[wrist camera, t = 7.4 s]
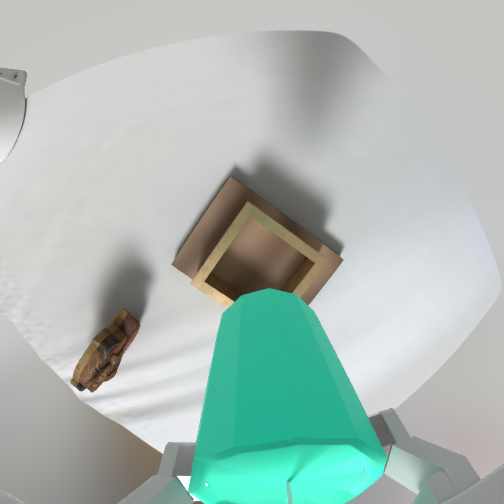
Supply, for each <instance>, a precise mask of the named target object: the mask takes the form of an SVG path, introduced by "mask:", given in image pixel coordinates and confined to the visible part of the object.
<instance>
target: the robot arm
mask: <svg viewBox="0 0 504 504" xmlns="http://www.w3.org/2000/svg"><path fill="white" fill-rule="evenodd" d="M26 77H27V73H26V72H25V71H21V70H14V69H4V68H0V162H2V161H3V160H4V159H5V158H6V157H7V155H8V154H9V152H10V151H11V149H12V148H13V146H14V144H15V142H16V140H17V137H18V135H19V132H20V129H21V126H22V122H23V118H24V112H25V96H24V87H25V82H26ZM368 418H369V421H370V423H371V425H372V427H373V429H374V431H375V433H376V435H377V437H378V439H379V441H380V443H381V446H382V448H383V450H384V452H385V454H386V456H387V460H386V464H385V467H384V471H383V472H384V473H385V474H386V475H388V476H389V477H391V478H392V479H394V480H395V481H397V482H398V483H400V484H402V485H403V486H405V487H406V488H408V489H410V490H411V491H413V492H415V493H416V494H418V496H417V497H416V499H415V501H414V502H413V504H504V464H503V465H502V466H500V467H499V468H497V469H496V470H495V471H493V472H492V473H490V474H489V475H487V476H486V477H485V478H483V479H480V478H479V476H478V475H477V473H476V472H475V470H474V469H473V467H472V466H471V464H470V463H469V461H468V460H467V458H466V457H465V456H463V455H461V454H458V453H455V452H452V451H450V450H447V449H444V448H442V447H439V446H437V445H434V444H432V443H430V442H427V441H425V440H422V439H420V438H418V437H415V436H413V437H410V435H409V434H408V432H407V431H406V429H405V427H404V425H403V424H402V422H401V420H400V419H399V417H398V415H397V414H396V412H395V410H394V409H392V408H390V409H387V410H384V411H381V412H379V413H378V412H377V413H374V414H371V415H368ZM195 449H196V443H185V442H168V443H167V445H166V447H165V450H164V454H163V457H162V461H161V465H160V468H159V472H158V475H153V476H152V477H151V478H150V479H148V480H147V481H146V482H145V483H144V484H142V485H141V486H140V487H139V488H137V489H136V490H135V491H133V492H132V493H131V494H130V495H128V496H127V497H126V498H124V499H123V500H121V501H120V502H119V503H117V504H193V502H194V501H200V500H199V499H197V498H196V497H194V496H193V495H192V494H190V493H189V492H188V485H189V481H190V477H191V471H192V466H193V460H194V454H195ZM364 473H365V469H364V468H363V471H362V475H363V474H364ZM206 485H207V486H208V484H207V483H206ZM0 504H26V503H24V502H23V501H21V500H19V499H17V498H15V497H14V496H12V495H10V494H9V493H7V492H5V491H3V490H1V489H0Z"/></svg>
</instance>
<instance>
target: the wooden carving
mask: <svg viewBox="0 0 504 504" xmlns="http://www.w3.org/2000/svg"><path fill="white" fill-rule="evenodd" d="M139 328H140V324H139V322H138V321H137V320H136V319H134V318H133V317H132V315H131V314H130V313H129V312H128V311H126V310H125V309H123V310H122V311H120V313H119V314H118V315H117V316H116V318H115V320H114V321H113V323H112V324H111V325H110V326H109V327H108V328H107V329H104V330H102V331H101V332H100V333H99V334H98V335H97V336H96V337H95V338H94V339H93V342H92V343H91V345H90V346H89V347H88V349H87V350H86V351H85V353H84V354H83V356H82V358H81V359H80V360H79V362H78V364H77V365H76V368H75V370H74V373H73V378H72V380H71V382H70V383H71V384H72V385H73V386H74V387H76V388H77V389H78V390H79V391H83V390H85V389H86V388H87V389H88V390H89V391H91V392H94V391H95V390H97V388H98V387H99V386H100V385H101V384H102V383H103V382H104V381H105V382H106V381H108V380H110V379H112V378H113V377H114V376H115V374H116V372H117V368H118V366H119V364H120V361H121V358H122V356H123V353H125V351H126V350H127V348H128V347H129V346H130V344H131V342H132V341H133V340H134V338H135V336H136V335H137V333H138V330H139Z"/></svg>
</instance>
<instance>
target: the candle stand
mask: <svg viewBox="0 0 504 504" xmlns="http://www.w3.org/2000/svg"><path fill="white" fill-rule="evenodd" d="M342 261H343V259H342V258H341V257H340V256H338V255H337V254H336V253H334V252H333V251H332V250H331V249H329V248H328V247H327V246H325V245H324V244H323V243H321V242H320V241H319V240H317V239H316V238H315V237H313V236H312V235H311V234H309V233H308V232H307V231H305V230H304V229H303V228H301V227H300V226H299V225H297V224H296V223H295V222H293V221H292V220H291V219H289V218H288V217H287V216H285V215H284V214H282V213H281V212H280V211H278V210H277V209H276V208H274V207H273V206H271V205H270V204H269V203H267V202H266V201H264V200H263V199H262V198H260V197H259V196H257V195H256V194H255V193H253V192H252V191H250V190H249V189H248V188H246V187H245V186H243V185H242V184H240V183H239V182H237V181H236V180H235V179H233V178H232V177H230V178H229V179H228V181H227V182H226V183H225V185H224V186H223V188H222V189H221V190H220V192H219V193H218V195H217V196H216V198H215V199H214V201H213V202H212V203H211V205H210V206H209V208H208V209H207V211H206V212H205V214H204V215H203V217H202V218H201V220H200V221H199V223H198V224H197V226H196V227H195V229H194V230H193V232H192V233H191V235H190V236H189V238H188V239H187V241H186V242H185V244H184V245H183V247H182V248H181V250H180V252H179V253H178V255H177V256H176V258H175V259H174V261H173V263H172V264H171V265H173V266H174V267H175V268H177V269H178V270H180V271H181V272H183V273H184V274H186V275H187V276H189V277H190V278H191V279H193V280H192V282H191V284H192V285H193V286H195V287H196V288H198V289H199V290H201V291H202V292H204V293H205V294H207V295H208V296H210V297H211V298H213V299H214V300H216V301H217V302H219V303H221V304H222V305H224V306H225V307H227V308H229V307H230V306H231V305H232V304H233V303H234V302H235V301H236V300H237V299H238V298H239V297H241V296H242V295H245V294H249V293H253V292H256V291H260V290H264V289H268V288H271V289H275V290H280V291H284V292H288V293H292V294H296V295H297V296H299V297H300V298H301V299H302V300H303V301H304V302H305V303H306V304H307V305H309V304H310V303H311V301H312V300H313V299H314V298H315V296H316V295H317V294H318V293H319V291H320V290H321V289H322V287H323V286H324V285H325V284H326V282H327V281H328V280H329V278H330V277H331V276H332V275H333V273H334V272H335V271H336V269H337V268H338V267H339V265H340V264H341V263H342Z"/></svg>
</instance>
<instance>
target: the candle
mask: <svg viewBox="0 0 504 504" xmlns="http://www.w3.org/2000/svg"><path fill="white" fill-rule="evenodd" d="M386 460H387V456H386V454H385V452H384V450H383V448H382V446H381V443H380V441H379V439H378V437H377V435H376V433H375V431H374V429H373V427H372V425H371V423H370V421H369V418H368V416H367V414H366V412H365V410H364V408H363V406H362V404H361V402H360V400H359V398H358V396H357V394H356V392H355V390H354V388H353V386H352V384H351V382H350V380H349V378H348V376H347V374H346V372H345V370H344V368H343V366H342V364H341V362H340V360H339V358H338V356H337V354H336V352H335V350H334V349H333V347H332V345H331V343H330V341H329V339H328V337H327V335H326V333H325V331H324V329H323V327H322V325H321V323H320V322H319V320H318V318H317V316H316V314H315V312H314V311H313V310H312V309H311V308H310V307H309V306H308V305H307V304H306V303H305V302H304V301H303V300H302V299H301V298H300V297H299V296H297V295H296V294H292V293H288V292H284V291H280V290H275V289H271V288H268V289H264V290H260V291H256V292H253V293H249V294H245V295H242V296H241V297H239V298H238V299H237V300H236V301H235V302H234V303H233V304H232V305H231V306H230V307H229V308H228V309H227V310H226V311H225V312H224V313H223V314H222V318H221V322H220V326H219V330H218V334H217V338H216V343H215V348H214V353H213V358H212V363H211V368H210V373H209V378H208V383H207V388H206V393H205V398H204V404H203V409H202V414H201V419H200V425H199V430H198V435H197V441H196V449H195V454H194V460H193V466H192V471H191V477H190V481H189V485H188V492H189V493H190V494H192V495H193V496H194V497H196V498H197V499H199V500H200V501H202V502H203V503H204V504H345V503H346V502H348V501H350V500H351V499H353V498H354V497H356V496H358V495H359V494H360V493H362V492H363V491H364V490H365V489H366V488H368V487H369V486H370V485H371V484H372V483H374V482H375V481H376V480H377V479H378V478H380V476H382V474H383V471H384V467H385V464H386ZM363 468H364V469H365V473H364V474H363V475H362V471H363ZM206 483H207V484H208V486H207V485H206Z"/></svg>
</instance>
